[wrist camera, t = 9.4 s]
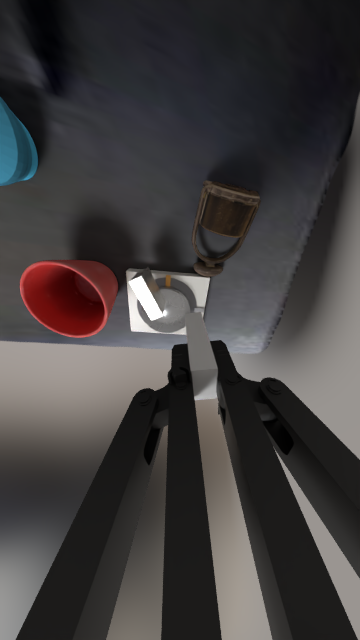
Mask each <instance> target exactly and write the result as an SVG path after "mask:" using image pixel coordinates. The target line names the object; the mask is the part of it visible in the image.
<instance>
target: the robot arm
mask: <svg viewBox="0 0 360 640" xmlns="http://www.w3.org/2000/svg"><path fill="white" fill-rule="evenodd" d="M185 324H186V334H187V344H178V345H174V347H173V349H172V363H171V366H172V367H171V370H170V371H169V372H168V380H169V383H168V384H167V385H166V386H165V387H163V388H161V389H159V390H157V391H154V390H153V389H150V388H146V389H142V390H140V391H139V392H138V393H136V395H135V396H134V397H133V400H132V401H131V404H130V406H129V408H128V410H127V412H126V414H125V416H124V418H123V420H122V422H121V424H120V426H119V428H118V430H117V432H116V435H115V436H114V438H113V441H112V443H111V445H110V447H109V449H108V451H107V453H106V455H105V457H104V459H103V461H102V463H101V465H100V467H99V469H98V471H97V473H96V476H95V478H94V480H93V482H92V484H91V486H90V488H89V490H88V492H87V494H86V496H85V498H84V500H83V502H82V504H81V506H80V508H79V510H78V513H77V515H76V517H75V519H74V521H73V523H72V525H71V527H70V529H69V531H68V533H67V535H66V537H65V539H64V541H63V543H62V546H61V548H60V549H59V552H58V554H57V556H56V558H55V560H54V562H53V564H52V566H51V568H50V570H49V572H48V574H47V576H46V578H45V580H44V582H43V585H42V587H41V589H40V591H39V593H38V595H37V597H36V599H35V601H34V603H33V605H32V607H31V610H30V611H29V613H28V615H27V618H26V619H25V622H24V623H23V626H22V628H21V630H20V632H19V634H18V636H17V638H16V640H106V637H107V634H108V630H109V627H110V623H111V619H112V615H113V612H114V608H115V604H116V601H117V597H118V593H119V590H120V586H121V582H122V579H123V575H124V571H125V568H126V564H127V560H128V557H129V553H130V549H131V546H132V542H133V538H134V534H135V531H136V527H137V524H138V520H139V516H140V512H141V508H142V505H143V501H144V497H145V494H146V490H147V486H148V483H149V479H150V476H151V472H152V468H153V465H154V460H155V457H156V453H157V450H158V446H159V443H160V439H161V435H162V431H163V428H164V427H165V426H167V425H168V448H167V478H166V479H167V481H166V509H165V541H164V572H163V604H162V605H163V606H162V634H161V640H222V638H221V630H220V620H219V612H218V603H217V594H216V585H215V576H214V567H213V558H212V550H211V542H210V532H209V523H208V514H207V506H206V497H205V488H204V479H203V470H202V462H201V452H200V444H199V435H198V426H197V417H196V408H195V400H202V399H215V398H217V397H218V401H219V403H218V414H220V416H221V420H222V424H223V428H224V433H225V437H226V441H227V446H228V450H229V454H230V459H231V463H232V467H233V471H234V476H235V480H236V484H237V489H238V493H239V497H240V501H241V506H242V510H243V514H244V518H245V523H246V527H247V531H248V536H249V540H250V544H251V549H252V553H253V557H254V561H255V566H256V570H257V574H258V579H259V583H260V587H261V591H262V596H263V600H264V604H265V608H266V613H267V617H268V621H269V626H270V630H271V635H272V639H273V640H358V639H357V637H356V635H355V632H354V630H353V628H352V625H351V623H350V621H349V619H348V616H347V614H346V612H345V609H344V607H343V605H342V603H341V600H340V598H339V596H338V593H337V591H336V589H335V587H334V584H333V582H332V580H331V577H330V576H329V573H328V571H327V568H326V566H325V564H324V562H323V559H322V557H321V555H320V553H319V550H318V548H317V546H316V543H315V541H314V539H313V536H312V534H311V532H310V529H309V527H308V525H307V523H306V520H305V518H304V516H303V514H302V511H301V509H300V507H299V504H298V502H297V500H296V498H295V495H294V493H293V491H292V488H291V486H290V484H289V482H288V479H287V477H286V475H285V472H284V470H283V468H282V466H281V463H280V461H279V459H278V457H277V454H276V452H275V450H276V451H277V453H278V454H279V456H280V457H281V459H282V460H283V462H284V464H285V465H286V467H287V468H288V470H289V471H290V473H291V474H292V476H293V477H294V479H295V480H296V482H297V483H298V485H299V487H300V488H301V489H302V491H303V493H304V494H305V496H306V497H307V499H308V500H309V502H310V503H311V505H312V506H313V508H314V509H315V511H316V512H317V514H318V516H319V517H320V518H321V520H322V522H323V523H324V525H325V526H326V528H327V529H328V531H329V532H330V534H331V535H332V537H333V538H334V540H335V541H336V543H337V544H338V546H339V548H340V549H341V551H342V552H343V554H344V555H345V557H346V558H347V560H348V561H349V563H350V564H351V566H352V567H353V569H354V570H355V572H356V573H357V575H358V576H359V578H360V460H359V459H358V458H357V457H356V456H355V455H354V454H353V453H352V452H351V451H350V450H349V449H348V448H347V447H346V446H345V445H344V444H343V443H342V442H341V441H340V440H339V439H338V438H337V437H336V436H335V435H334V434H333V433H332V431H330V429H329V428H328V427H326V425H325V424H324V423H323V422H322V421H321V420H320V419H319V418H318V417H317V416H316V415H314V414H313V412H312V411H311V410H310V409H309V408H308V407H307V406H306V405H305V404H304V403H303V402H302V401H301V400H300V399H299V398H298V397H297V396H296V395H295V394H294V393H293V392H292V391H291V390H290V389H289V388H288V387H287V386H286V385H285V384H284V383H282V382H281V381H280V380H277V379H275V378H264V379H263V380H262V381H261V382H256V381H251V380H247V379H245V378H243V377H242V376H241V375H240V374H239V373H238V372H237V371H236V368H235V366H234V363H233V361H232V359H231V357H230V354H229V351H228V349H227V347H226V344H225V343H223V342H222V341H221V340H217V341H210V340H209V337H208V334H207V330H206V327H205V323H204V320H203V317H202V313H201V312H196V313H186V314H185ZM274 448H275V450H274Z"/></svg>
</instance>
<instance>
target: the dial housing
mask: <svg viewBox="0 0 360 640" xmlns="http://www.w3.org/2000/svg"><path fill="white" fill-rule="evenodd" d="M141 270H143V269H132V268H129V269H128V270H127V271H126V278H127V289H128V300H129V311H130V323H131V331H137V332H152V333H162V332H158V331H155V330H154V329H152V328H150V327H149V326H148V325H147V324H146V322H145V321H144V319H143V316H142V303H141V302H140V300H139V298H138V297H137V295H136V293H135V292H134V290H133V288H132V287H131V285H130V283H129V281H130V280H131V279H132V278H133V276H134V275H135V274H136V273H137V272H138V271H141ZM150 271H151V273H152V275H153V277H154V279H155V281H156V283H157V285H158V287H160V286H172V287H175V288H177V289H179V290H181V291H182V292H183V293H184V294H185V295H186V297H187V298H188V301H189V304H190V313H196V312H201V313H202V317H203V315H204V309H205V303H206V298H207V292H208V286H209V281H210V277H207V276H203V275H200V274H192V273H180V272H168V271H156V270H150ZM168 334H183V335H187V334H186V325H185V326H184V327H183V328H182V329H180V330H178V331H176V332H172V333H168Z"/></svg>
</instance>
